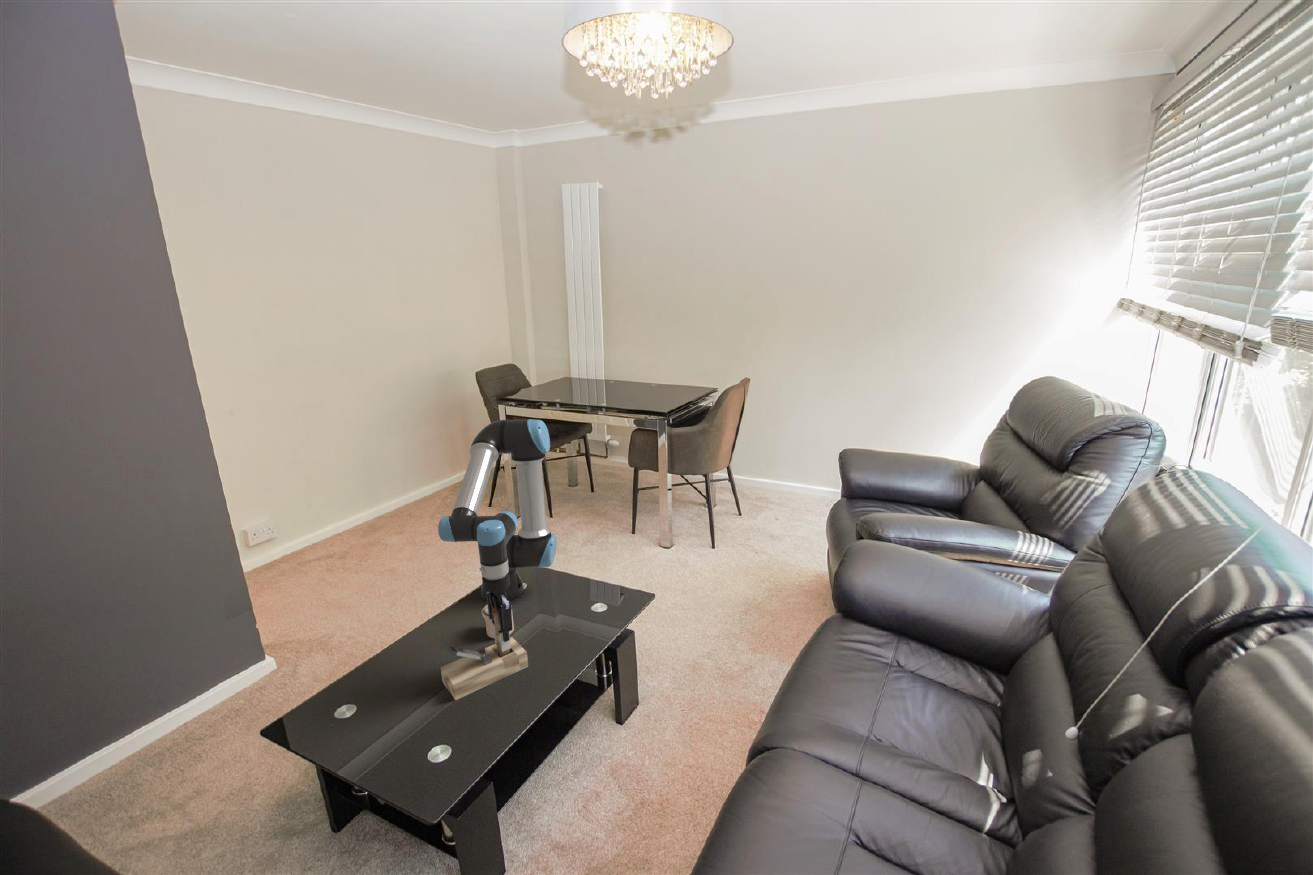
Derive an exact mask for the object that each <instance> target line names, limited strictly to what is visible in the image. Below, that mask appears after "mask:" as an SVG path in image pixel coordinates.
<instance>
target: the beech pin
mask: <svg viewBox="0 0 1313 875" xmlns="http://www.w3.org/2000/svg"><path fill="white" fill-rule="evenodd" d="M492 614H493V615H494V623H495V632H496V641H497V650H498V656H499V657H500V658H501V657H503V656H505V655H507V654H510V649H508V650H505V651H503V652H502V651H501V643H500V634H499V632H498V631H500V624H499V619H498V613H497V610H496V609H495V608H493V609H492Z"/></svg>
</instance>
